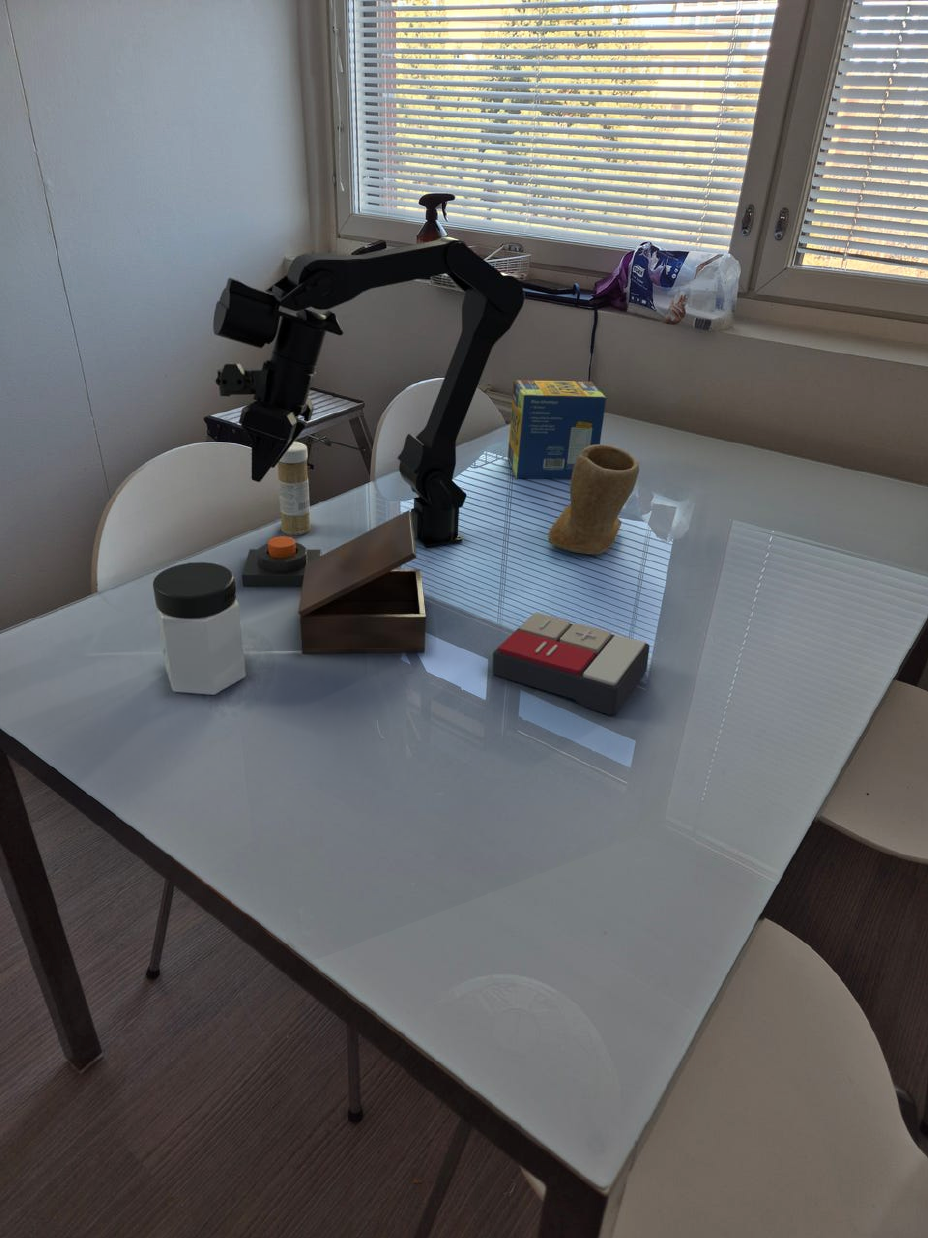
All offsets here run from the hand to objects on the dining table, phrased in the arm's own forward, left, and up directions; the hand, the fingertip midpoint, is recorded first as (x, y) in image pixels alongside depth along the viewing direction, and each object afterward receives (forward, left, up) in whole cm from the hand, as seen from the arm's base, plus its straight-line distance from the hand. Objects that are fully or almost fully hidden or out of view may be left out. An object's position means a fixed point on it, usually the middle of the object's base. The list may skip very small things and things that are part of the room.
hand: (263, 473), depth 109 cm
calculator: (-24, +41, -13) cm, 49 cm away
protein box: (-60, -19, -13) cm, 64 cm away
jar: (+14, +25, -13) cm, 32 cm away
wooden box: (-6, +22, -13) cm, 26 cm away
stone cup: (-48, +11, -13) cm, 51 cm away
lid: (-5, +22, -4) cm, 23 cm away
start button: (-1, +4, -10) cm, 11 cm away
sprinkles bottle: (-7, -9, -13) cm, 18 cm away
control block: (-1, +4, -13) cm, 14 cm away
